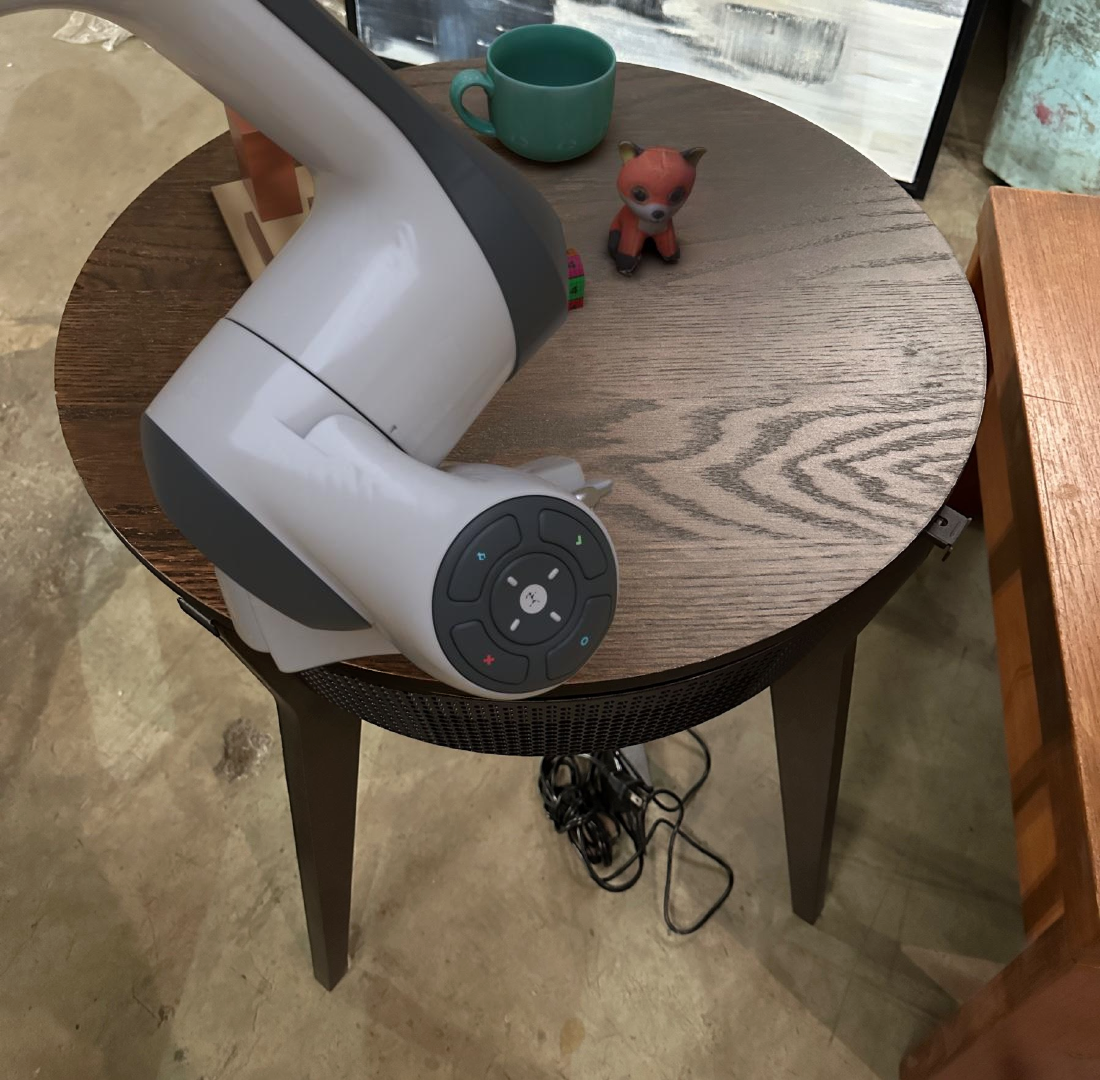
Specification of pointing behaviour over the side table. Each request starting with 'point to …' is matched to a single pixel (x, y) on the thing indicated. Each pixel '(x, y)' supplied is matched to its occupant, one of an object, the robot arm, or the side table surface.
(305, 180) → the pad base
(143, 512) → the side table surface
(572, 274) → the numbered block arch
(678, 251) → the stuffed fox
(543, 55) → the mug
